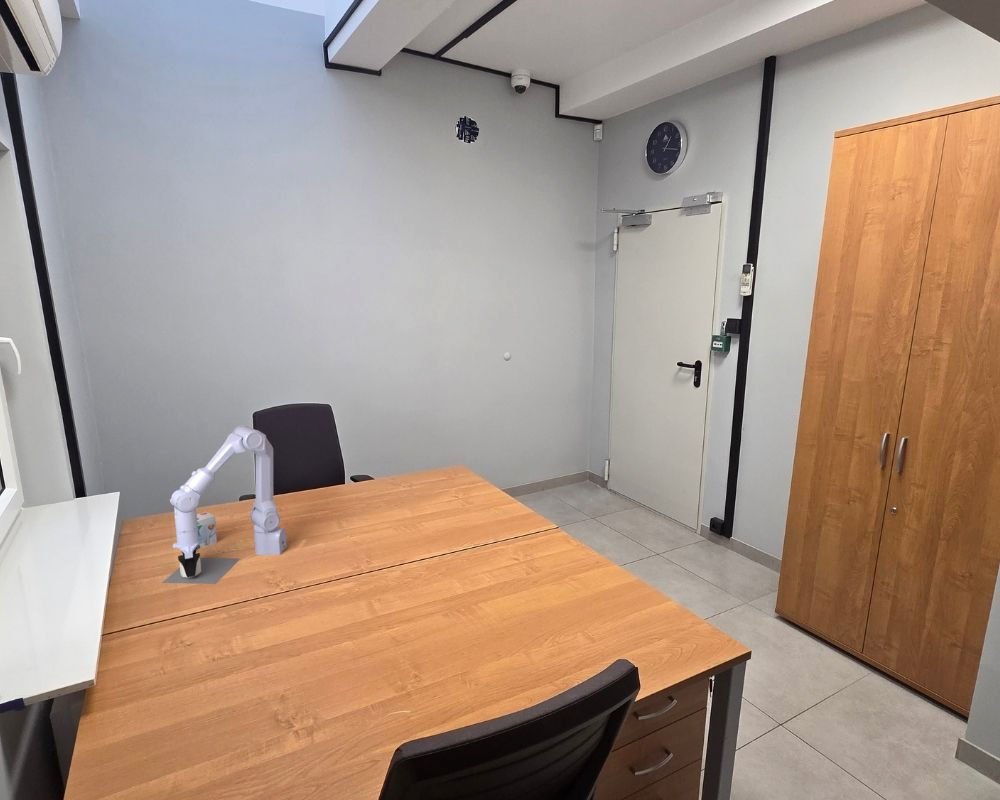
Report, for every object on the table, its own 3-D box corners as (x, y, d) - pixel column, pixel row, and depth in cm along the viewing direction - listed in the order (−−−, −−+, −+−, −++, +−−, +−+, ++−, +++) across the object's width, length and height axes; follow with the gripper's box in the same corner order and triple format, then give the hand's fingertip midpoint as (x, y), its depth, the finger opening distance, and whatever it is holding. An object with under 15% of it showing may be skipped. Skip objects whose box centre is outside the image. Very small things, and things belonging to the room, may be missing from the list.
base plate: (241, 561, 179) (240, 558, 179) (215, 586, 163) (215, 583, 163) (191, 560, 179) (191, 557, 179) (161, 585, 163) (161, 582, 163)
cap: (204, 568, 171) (202, 555, 170) (194, 577, 165) (193, 563, 165) (187, 568, 171) (186, 555, 170) (177, 577, 165) (176, 563, 165)
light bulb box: (185, 556, 182) (182, 525, 180) (176, 550, 186) (173, 520, 184) (218, 545, 190) (216, 515, 188) (209, 539, 194) (206, 510, 192)
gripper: (171, 522, 170) (175, 563, 172) (171, 540, 157) (175, 584, 160) (197, 518, 173) (201, 558, 176) (199, 535, 161) (203, 578, 163)
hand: (190, 570), depth 168 cm, fingers open, 7 cm apart
